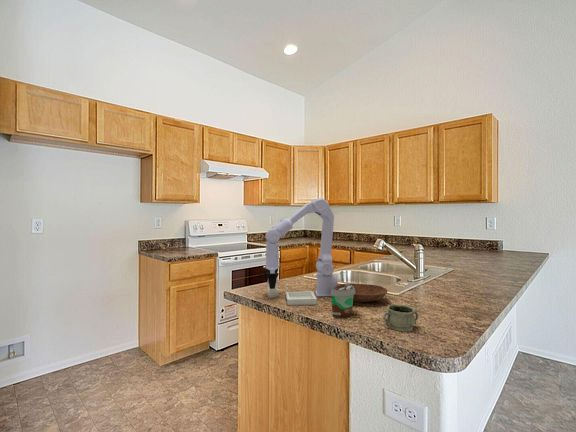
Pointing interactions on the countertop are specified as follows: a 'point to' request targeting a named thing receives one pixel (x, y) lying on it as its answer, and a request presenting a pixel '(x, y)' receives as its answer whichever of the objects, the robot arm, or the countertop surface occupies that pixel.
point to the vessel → (400, 317)
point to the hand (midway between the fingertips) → (272, 286)
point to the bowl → (366, 292)
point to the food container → (342, 301)
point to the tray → (301, 298)
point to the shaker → (272, 291)
